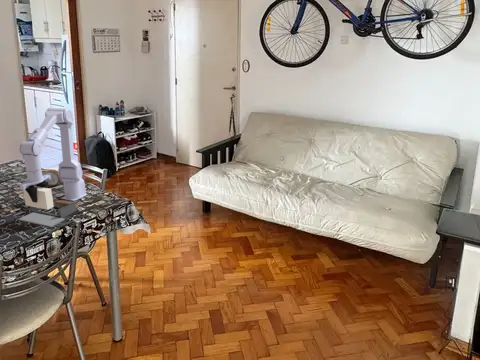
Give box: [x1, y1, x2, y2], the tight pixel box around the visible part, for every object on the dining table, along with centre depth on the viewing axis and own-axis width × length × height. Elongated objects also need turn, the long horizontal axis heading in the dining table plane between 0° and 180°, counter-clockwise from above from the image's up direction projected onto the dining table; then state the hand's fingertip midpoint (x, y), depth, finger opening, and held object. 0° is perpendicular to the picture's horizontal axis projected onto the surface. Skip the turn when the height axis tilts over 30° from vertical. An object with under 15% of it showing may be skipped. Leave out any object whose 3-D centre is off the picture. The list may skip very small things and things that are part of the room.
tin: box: [41, 168, 62, 187], centre depth 232 cm, size 15×3×8 cm, turn 84°
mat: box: [17, 212, 66, 228], centre depth 192 cm, size 8×18×1 cm, turn 68°
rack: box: [29, 201, 77, 219], centre depth 200 cm, size 9×17×4 cm, turn 68°
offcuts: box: [53, 199, 79, 209], centre depth 206 cm, size 3×13×2 cm, turn 68°
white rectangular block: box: [22, 185, 54, 211], centre depth 189 cm, size 4×12×8 cm, turn 68°
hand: (38, 200), depth 189 cm, fingers closed on white rectangular block, 3 cm apart
